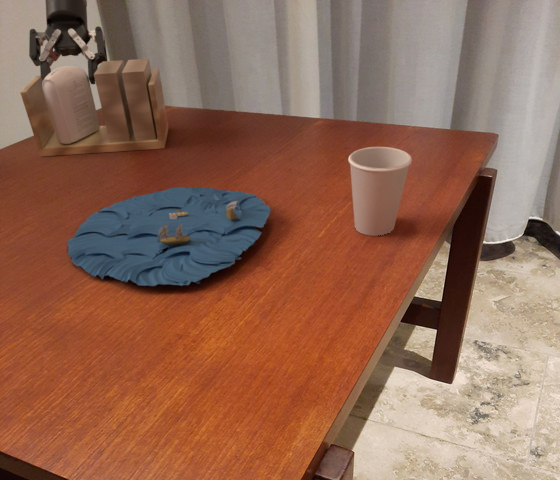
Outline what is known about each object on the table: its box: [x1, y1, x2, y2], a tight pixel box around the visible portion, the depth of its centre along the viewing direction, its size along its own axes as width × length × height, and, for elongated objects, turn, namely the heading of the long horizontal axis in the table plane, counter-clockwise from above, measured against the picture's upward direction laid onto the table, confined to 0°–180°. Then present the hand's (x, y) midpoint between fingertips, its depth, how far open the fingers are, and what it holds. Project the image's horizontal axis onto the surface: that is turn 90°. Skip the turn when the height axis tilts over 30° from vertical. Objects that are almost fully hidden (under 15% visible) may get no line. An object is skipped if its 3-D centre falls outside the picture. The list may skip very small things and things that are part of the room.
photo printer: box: [42, 65, 101, 144], centre depth 107 cm, size 10×4×12 cm, turn 158°
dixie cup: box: [348, 146, 413, 237], centre depth 77 cm, size 8×8×10 cm
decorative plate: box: [67, 186, 272, 287], centre depth 78 cm, size 30×30×5 cm
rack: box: [19, 58, 169, 158], centre depth 108 cm, size 24×12×14 cm, turn 95°
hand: (70, 82), depth 107 cm, fingers open, 8 cm apart
